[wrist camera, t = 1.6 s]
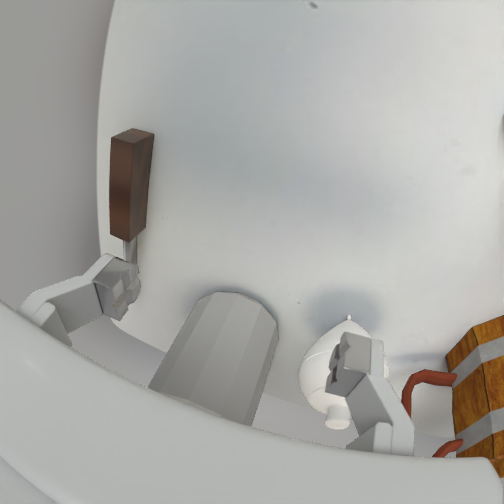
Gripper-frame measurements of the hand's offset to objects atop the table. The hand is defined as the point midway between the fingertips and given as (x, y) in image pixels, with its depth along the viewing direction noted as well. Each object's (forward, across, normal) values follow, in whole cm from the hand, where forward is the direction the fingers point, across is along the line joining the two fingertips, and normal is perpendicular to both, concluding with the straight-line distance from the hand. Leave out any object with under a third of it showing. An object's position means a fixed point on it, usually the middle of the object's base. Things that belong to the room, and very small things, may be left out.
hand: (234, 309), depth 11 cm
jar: (+14, +2, +18) cm, 23 cm away
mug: (+14, -26, +14) cm, 33 cm away
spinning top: (+14, -9, +12) cm, 21 cm away
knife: (+14, +14, +9) cm, 22 cm away
